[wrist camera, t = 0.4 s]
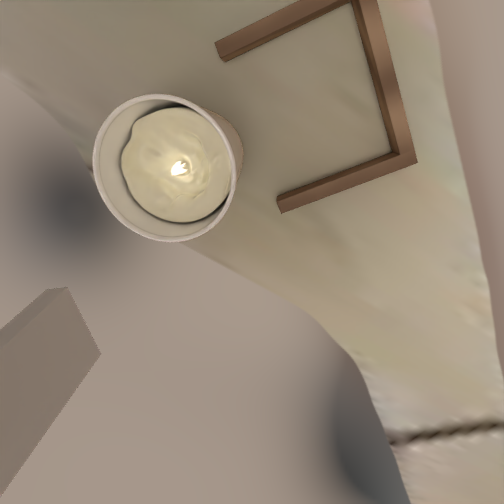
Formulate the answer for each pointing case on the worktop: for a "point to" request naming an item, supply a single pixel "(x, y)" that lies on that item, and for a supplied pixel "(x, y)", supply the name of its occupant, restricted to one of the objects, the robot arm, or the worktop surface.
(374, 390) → the worktop surface
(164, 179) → the candle holder
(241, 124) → the worktop surface
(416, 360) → the worktop surface
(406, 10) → the worktop surface
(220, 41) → the walnut bay
